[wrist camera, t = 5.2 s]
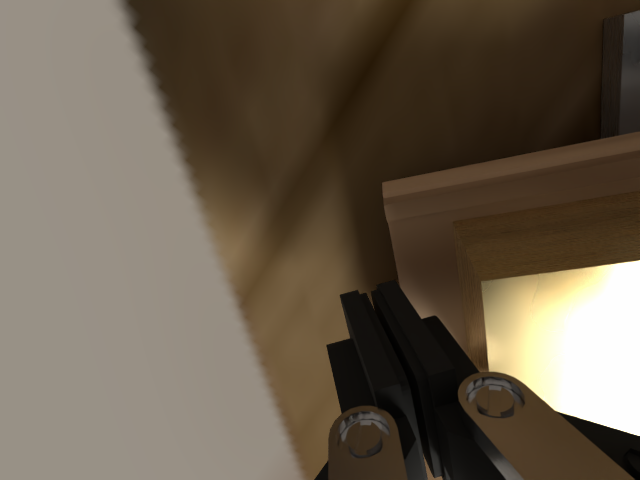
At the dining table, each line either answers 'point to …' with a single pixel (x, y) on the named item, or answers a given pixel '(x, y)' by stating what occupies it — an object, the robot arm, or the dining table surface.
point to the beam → (491, 210)
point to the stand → (621, 75)
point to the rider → (558, 303)
